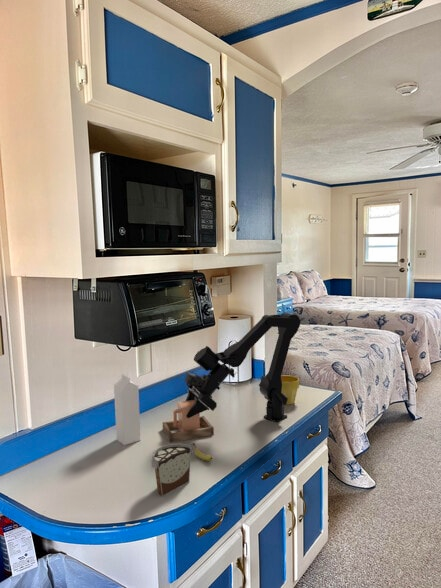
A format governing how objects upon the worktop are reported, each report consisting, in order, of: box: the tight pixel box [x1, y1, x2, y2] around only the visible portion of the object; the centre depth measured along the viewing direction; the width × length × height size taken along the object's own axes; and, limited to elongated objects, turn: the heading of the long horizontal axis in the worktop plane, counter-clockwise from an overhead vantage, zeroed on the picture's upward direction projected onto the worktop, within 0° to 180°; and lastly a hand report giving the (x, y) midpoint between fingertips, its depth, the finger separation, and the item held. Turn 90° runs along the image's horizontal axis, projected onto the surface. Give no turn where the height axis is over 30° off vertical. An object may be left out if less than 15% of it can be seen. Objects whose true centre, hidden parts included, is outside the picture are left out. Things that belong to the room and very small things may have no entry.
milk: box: [113, 373, 142, 446], centre depth 144 cm, size 6×6×22 cm
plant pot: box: [281, 374, 300, 406], centre depth 178 cm, size 10×10×10 cm
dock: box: [162, 415, 215, 443], centre depth 151 cm, size 15×11×2 cm
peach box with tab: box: [172, 400, 201, 432], centre depth 150 cm, size 8×6×10 cm
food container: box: [151, 443, 193, 498], centre depth 117 cm, size 12×6×10 cm, turn 136°
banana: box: [191, 442, 213, 462], centre depth 131 cm, size 8×2×4 cm, turn 47°
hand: (184, 413), depth 150 cm, fingers closed on peach box with tab, 6 cm apart
